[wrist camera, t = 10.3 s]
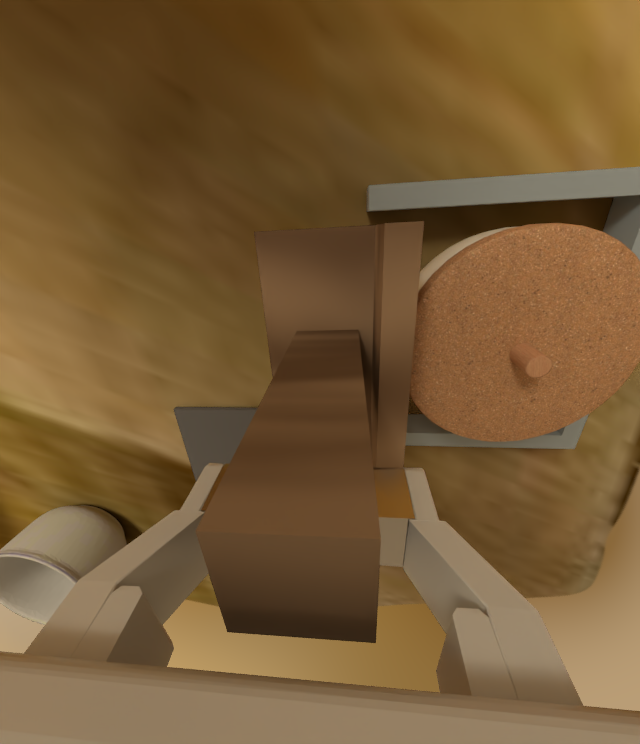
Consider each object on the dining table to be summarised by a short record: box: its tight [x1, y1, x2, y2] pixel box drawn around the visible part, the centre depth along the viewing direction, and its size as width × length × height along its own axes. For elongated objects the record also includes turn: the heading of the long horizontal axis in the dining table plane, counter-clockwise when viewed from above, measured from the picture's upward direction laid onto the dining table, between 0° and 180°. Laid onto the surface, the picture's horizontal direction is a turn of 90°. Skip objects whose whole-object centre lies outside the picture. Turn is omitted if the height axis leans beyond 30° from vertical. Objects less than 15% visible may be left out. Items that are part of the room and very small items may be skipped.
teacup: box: [0, 505, 127, 625], centre depth 32 cm, size 14×11×8 cm
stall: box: [367, 167, 640, 449], centre depth 20 cm, size 17×15×2 cm
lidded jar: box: [410, 223, 640, 442], centre depth 17 cm, size 11×11×9 cm
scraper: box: [195, 221, 424, 643], centre depth 11 cm, size 12×6×12 cm, turn 3°
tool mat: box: [174, 407, 257, 481], centre depth 30 cm, size 16×10×1 cm, turn 3°
